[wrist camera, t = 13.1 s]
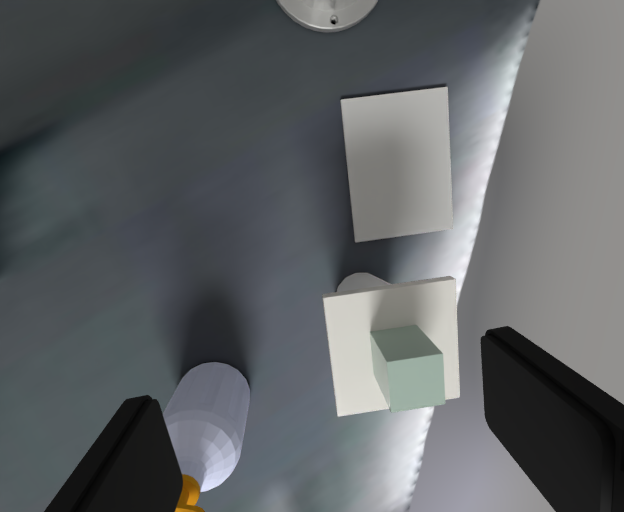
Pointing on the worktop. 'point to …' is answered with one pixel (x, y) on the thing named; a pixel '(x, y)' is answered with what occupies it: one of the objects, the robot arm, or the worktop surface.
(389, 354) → the lid
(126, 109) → the worktop surface
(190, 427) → the soap bottle
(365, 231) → the mat
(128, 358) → the worktop surface
